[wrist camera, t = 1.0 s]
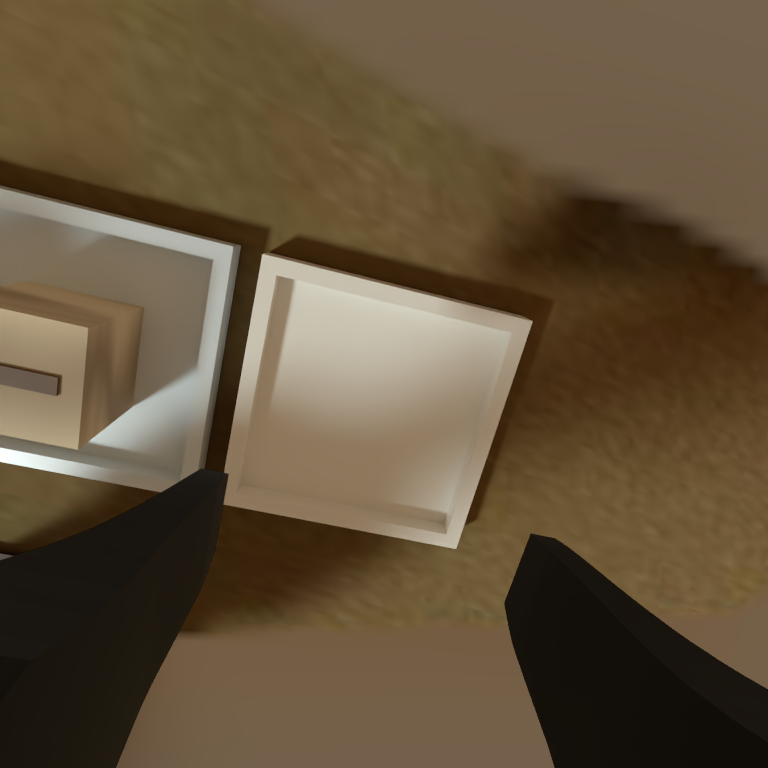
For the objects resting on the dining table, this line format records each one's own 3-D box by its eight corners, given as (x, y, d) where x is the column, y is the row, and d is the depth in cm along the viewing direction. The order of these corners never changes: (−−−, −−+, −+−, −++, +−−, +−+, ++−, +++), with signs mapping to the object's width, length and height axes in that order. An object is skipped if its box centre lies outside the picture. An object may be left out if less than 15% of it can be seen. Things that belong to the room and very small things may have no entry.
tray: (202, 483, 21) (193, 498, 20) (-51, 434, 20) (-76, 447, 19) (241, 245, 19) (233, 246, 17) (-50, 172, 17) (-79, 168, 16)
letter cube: (132, 406, 20) (76, 451, 16) (25, 384, 19) (-61, 424, 15) (143, 307, 19) (86, 328, 15) (30, 281, 18) (-61, 295, 14)
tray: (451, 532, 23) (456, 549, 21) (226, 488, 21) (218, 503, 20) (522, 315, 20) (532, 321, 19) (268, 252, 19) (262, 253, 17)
